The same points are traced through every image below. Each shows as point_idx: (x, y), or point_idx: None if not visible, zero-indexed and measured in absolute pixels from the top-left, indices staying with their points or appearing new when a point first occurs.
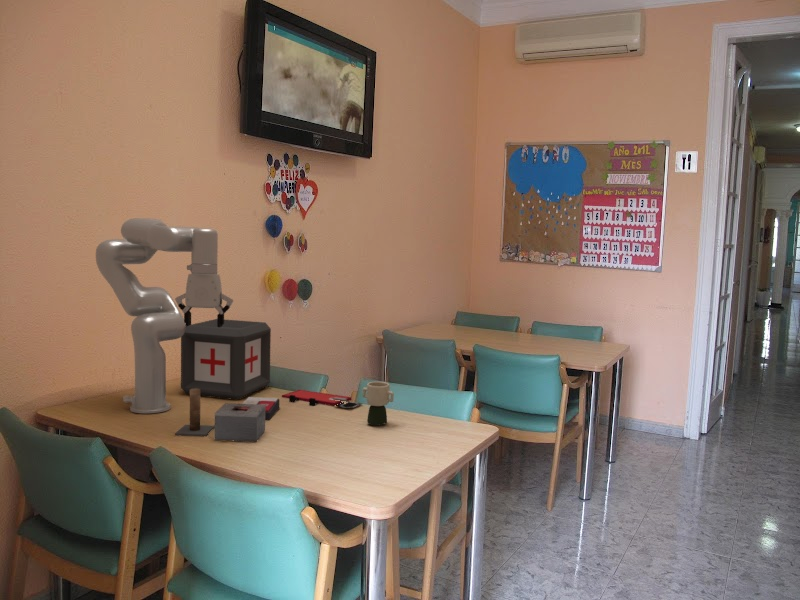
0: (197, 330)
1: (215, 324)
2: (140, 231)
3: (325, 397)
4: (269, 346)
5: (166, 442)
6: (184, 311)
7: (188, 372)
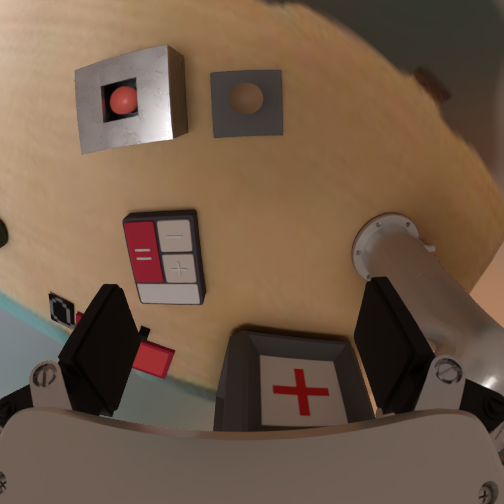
0: None
1: None
2: None
3: None
4: None
5: (278, 27)
6: (446, 368)
7: (346, 368)
